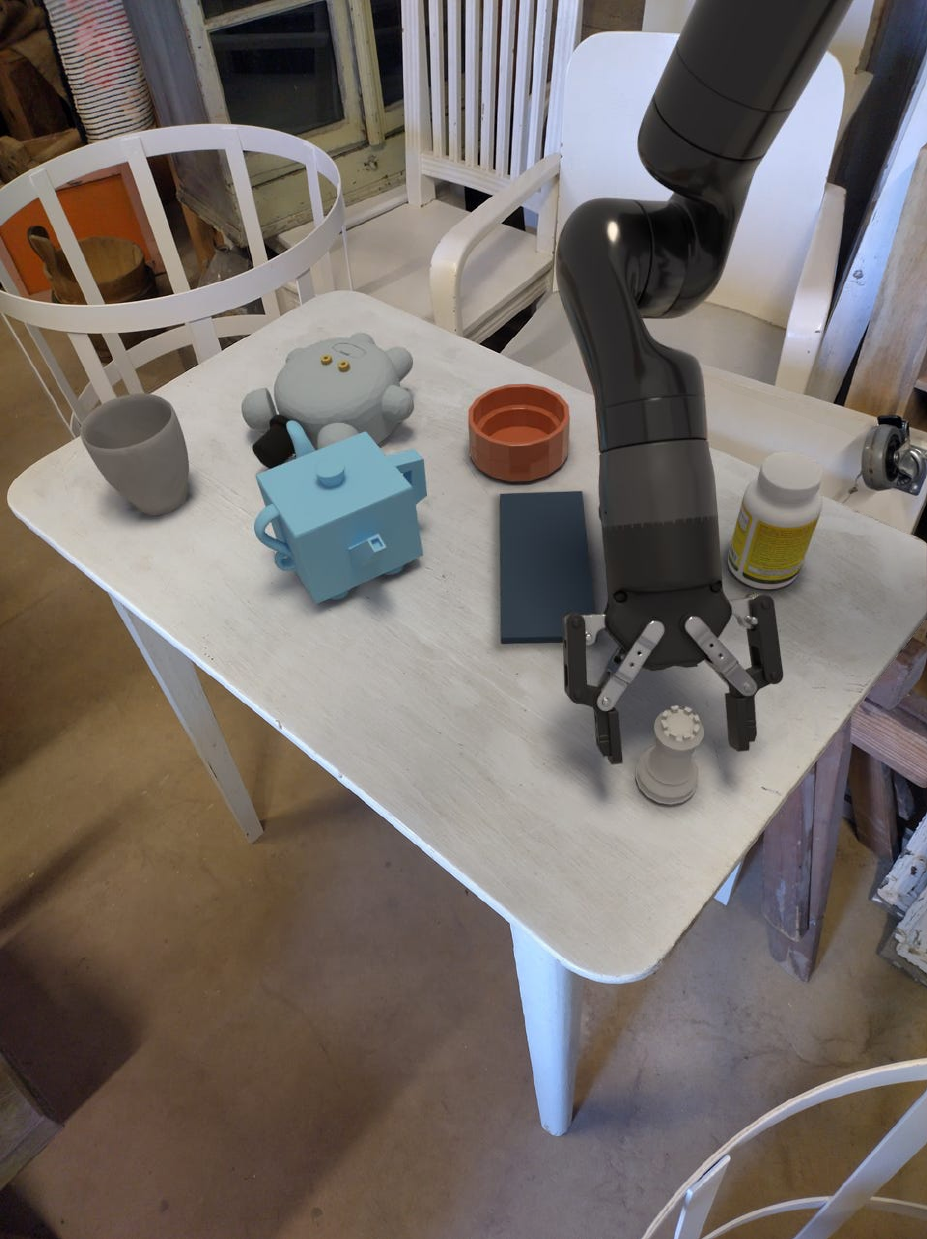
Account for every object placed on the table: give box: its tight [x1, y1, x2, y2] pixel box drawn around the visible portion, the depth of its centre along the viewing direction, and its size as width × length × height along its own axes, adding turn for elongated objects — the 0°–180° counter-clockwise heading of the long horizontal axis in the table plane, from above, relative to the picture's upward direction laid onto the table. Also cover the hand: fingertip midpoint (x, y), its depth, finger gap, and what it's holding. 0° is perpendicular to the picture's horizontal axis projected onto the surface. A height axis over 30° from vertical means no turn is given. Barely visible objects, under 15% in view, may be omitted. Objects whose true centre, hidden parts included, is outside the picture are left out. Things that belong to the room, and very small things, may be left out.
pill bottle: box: [727, 451, 824, 590], centre depth 68 cm, size 6×6×11 cm
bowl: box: [467, 383, 571, 483], centre depth 83 cm, size 10×10×5 cm
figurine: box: [240, 332, 415, 470], centre depth 86 cm, size 17×8×20 cm
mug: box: [79, 393, 190, 516], centre depth 81 cm, size 12×9×10 cm
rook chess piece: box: [635, 704, 705, 805], centre depth 57 cm, size 4×4×8 cm
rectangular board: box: [499, 490, 598, 644], centre depth 74 cm, size 18×8×1 cm, turn 179°
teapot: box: [253, 421, 428, 605], centre depth 72 cm, size 16×18×11 cm
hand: (677, 755), depth 55 cm, fingers open, 8 cm apart
